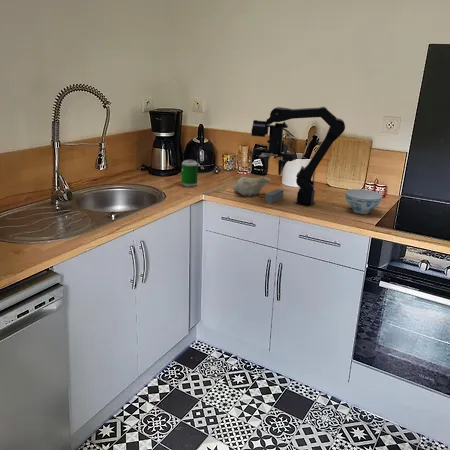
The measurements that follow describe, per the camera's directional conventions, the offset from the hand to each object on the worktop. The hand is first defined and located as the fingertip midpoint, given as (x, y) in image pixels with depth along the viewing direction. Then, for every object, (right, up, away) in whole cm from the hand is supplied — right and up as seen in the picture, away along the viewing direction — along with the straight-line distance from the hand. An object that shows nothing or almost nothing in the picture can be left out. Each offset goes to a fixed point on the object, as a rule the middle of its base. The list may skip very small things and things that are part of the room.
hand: (273, 173), depth 201 cm
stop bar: (+1, -12, +3) cm, 12 cm away
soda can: (-38, -3, +22) cm, 44 cm away
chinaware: (+37, -17, -6) cm, 41 cm away
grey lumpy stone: (-9, -8, +12) cm, 17 cm away
